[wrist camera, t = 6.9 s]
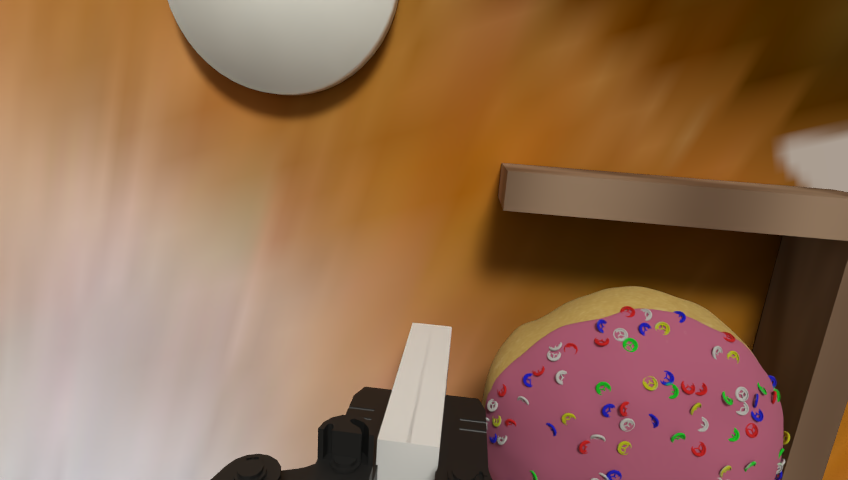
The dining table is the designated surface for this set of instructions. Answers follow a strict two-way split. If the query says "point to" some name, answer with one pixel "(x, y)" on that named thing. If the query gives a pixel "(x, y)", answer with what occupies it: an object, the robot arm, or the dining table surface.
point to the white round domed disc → (285, 39)
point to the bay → (789, 288)
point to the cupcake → (631, 395)
